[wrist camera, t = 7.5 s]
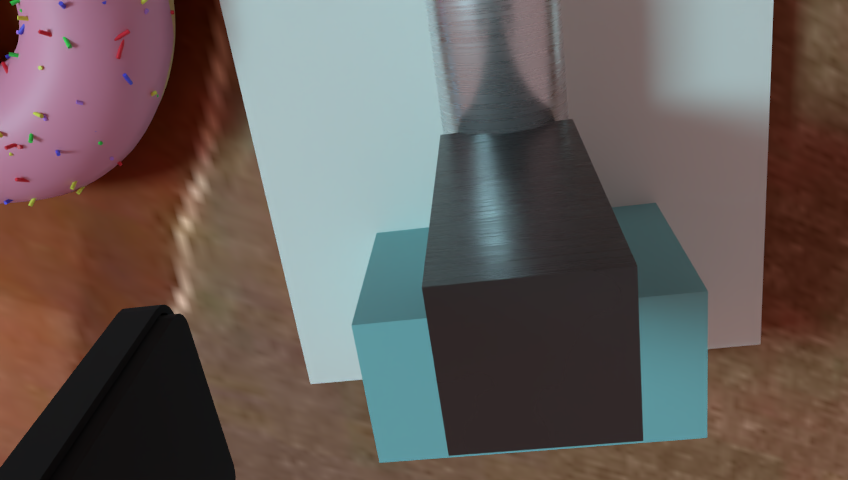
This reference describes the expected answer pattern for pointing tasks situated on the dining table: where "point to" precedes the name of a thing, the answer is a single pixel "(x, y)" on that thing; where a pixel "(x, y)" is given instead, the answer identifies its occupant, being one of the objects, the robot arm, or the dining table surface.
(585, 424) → the silver bolt with handle
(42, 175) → the doughnut
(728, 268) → the base board
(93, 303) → the dining table surface
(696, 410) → the socket
